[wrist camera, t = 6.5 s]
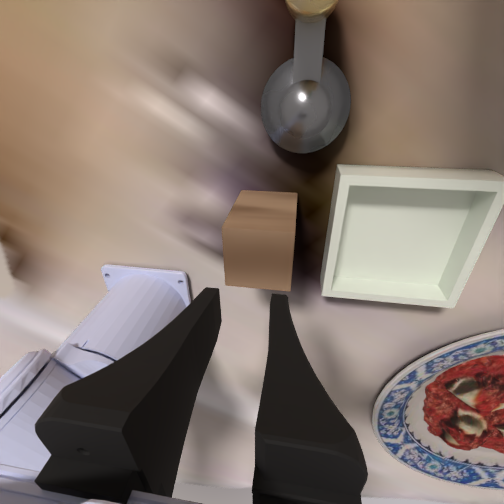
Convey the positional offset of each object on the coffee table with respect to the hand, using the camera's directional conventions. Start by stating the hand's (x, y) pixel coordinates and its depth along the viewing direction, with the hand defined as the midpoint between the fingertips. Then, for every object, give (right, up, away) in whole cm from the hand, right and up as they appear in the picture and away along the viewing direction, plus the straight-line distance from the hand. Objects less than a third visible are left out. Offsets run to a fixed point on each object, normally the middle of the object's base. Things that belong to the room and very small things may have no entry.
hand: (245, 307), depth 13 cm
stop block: (+2, +5, +8) cm, 10 cm away
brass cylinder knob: (+3, +13, +2) cm, 13 cm away
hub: (+3, +11, +4) cm, 13 cm away
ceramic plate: (+25, -12, +15) cm, 32 cm away
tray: (+10, +4, +7) cm, 13 cm away
